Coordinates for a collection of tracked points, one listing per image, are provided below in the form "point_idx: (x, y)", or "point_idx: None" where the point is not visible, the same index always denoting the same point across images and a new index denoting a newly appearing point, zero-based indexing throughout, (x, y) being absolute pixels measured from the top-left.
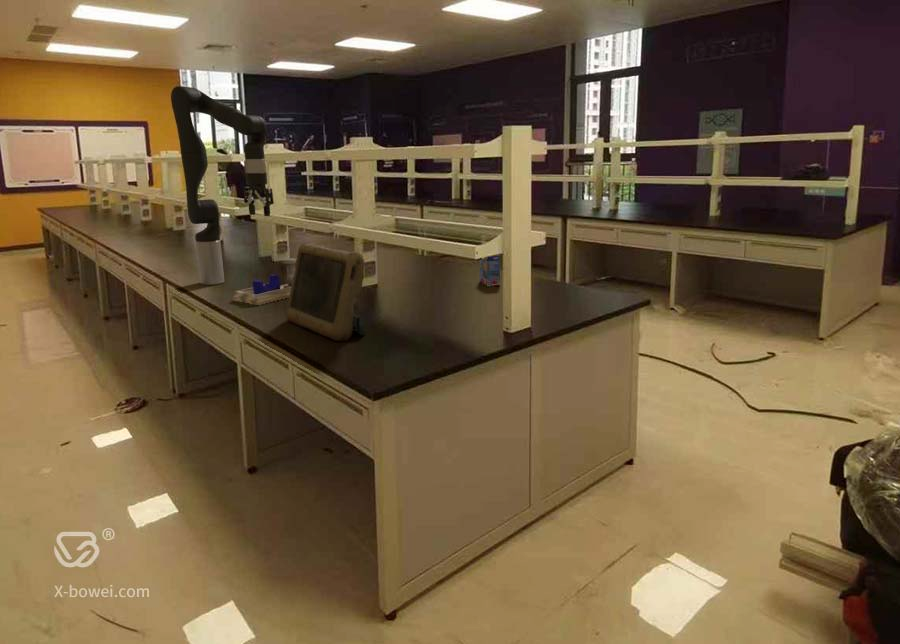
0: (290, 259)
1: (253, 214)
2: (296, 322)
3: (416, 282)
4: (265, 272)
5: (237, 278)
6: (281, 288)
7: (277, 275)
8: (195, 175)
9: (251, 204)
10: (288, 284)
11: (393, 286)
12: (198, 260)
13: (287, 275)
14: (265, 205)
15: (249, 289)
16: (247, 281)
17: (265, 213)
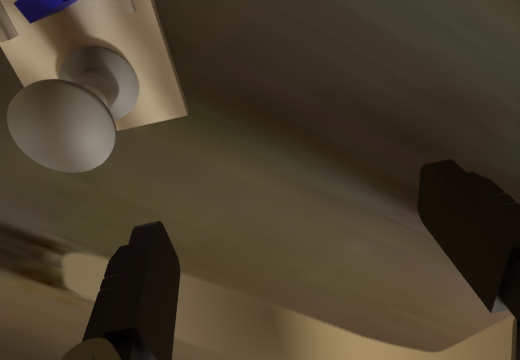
0: (81, 136)
1: (419, 193)
2: None
3: (33, 348)
4: (465, 153)
5: (481, 32)
6: (111, 40)
7: (29, 13)
8: None
9: (516, 282)
10: (92, 69)
11: (12, 303)
12: None
13: (84, 81)
14: (64, 357)
15: None
16: (401, 35)
17: (129, 248)
